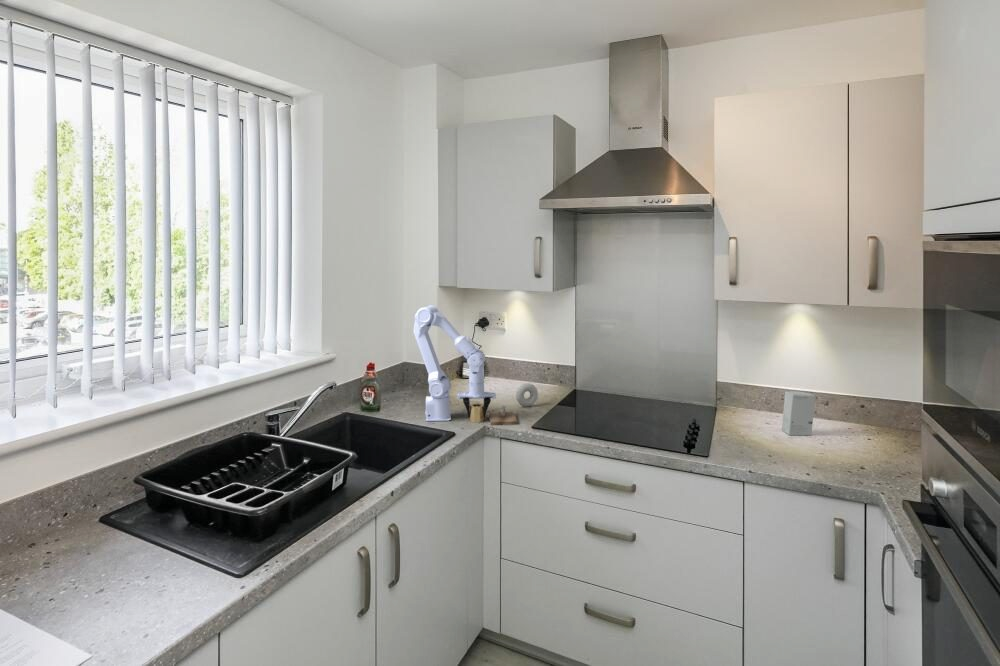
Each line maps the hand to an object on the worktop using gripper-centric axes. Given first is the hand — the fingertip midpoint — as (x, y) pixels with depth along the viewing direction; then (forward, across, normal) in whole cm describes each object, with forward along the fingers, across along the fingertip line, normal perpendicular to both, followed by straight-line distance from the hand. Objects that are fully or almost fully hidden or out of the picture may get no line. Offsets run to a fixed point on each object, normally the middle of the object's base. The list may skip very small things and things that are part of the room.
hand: (476, 416), depth 215 cm
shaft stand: (+1, +10, 0) cm, 10 cm away
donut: (+2, +22, +18) cm, 28 cm away
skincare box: (+2, +114, -25) cm, 117 cm away
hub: (+1, 0, 0) cm, 1 cm away
